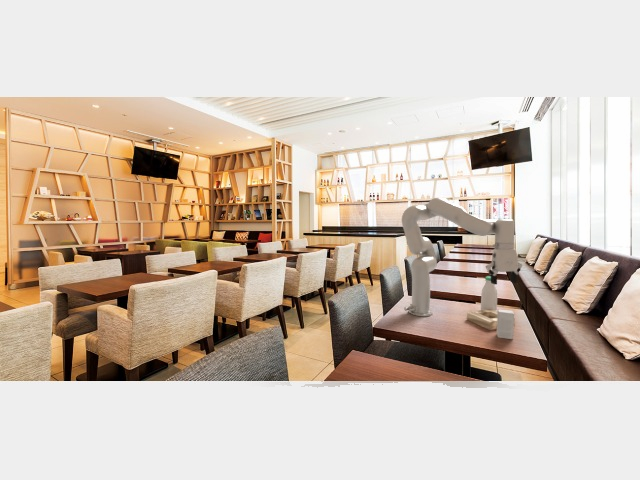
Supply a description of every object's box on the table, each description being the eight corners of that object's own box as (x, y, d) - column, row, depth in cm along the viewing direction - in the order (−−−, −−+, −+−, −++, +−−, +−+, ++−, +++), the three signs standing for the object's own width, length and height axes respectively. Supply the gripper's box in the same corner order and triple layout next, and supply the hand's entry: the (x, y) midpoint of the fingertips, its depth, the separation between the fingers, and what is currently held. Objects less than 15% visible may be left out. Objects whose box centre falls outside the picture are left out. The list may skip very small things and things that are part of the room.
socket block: (489, 330, 143) (489, 321, 143) (466, 319, 156) (467, 312, 156) (514, 325, 148) (515, 317, 147) (490, 315, 161) (490, 308, 161)
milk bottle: (498, 314, 163) (500, 278, 160) (483, 314, 164) (484, 278, 162) (493, 310, 170) (495, 275, 168) (478, 309, 172) (480, 275, 169)
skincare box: (511, 336, 136) (512, 310, 135) (513, 339, 132) (514, 313, 131) (496, 333, 139) (497, 308, 137) (497, 337, 135) (498, 311, 133)
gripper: (492, 248, 132) (491, 286, 133) (528, 246, 134) (527, 283, 135) (481, 246, 139) (481, 282, 141) (515, 244, 141) (514, 280, 143)
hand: (503, 283), depth 138 cm, fingers open, 9 cm apart
